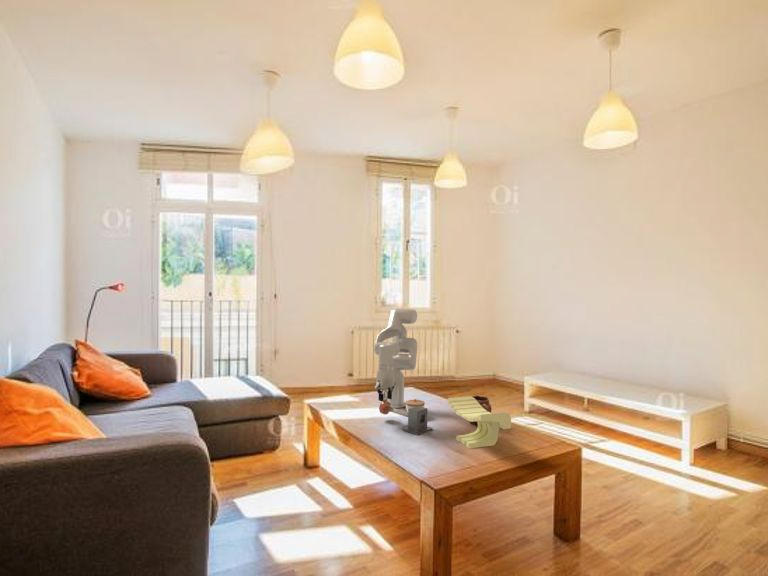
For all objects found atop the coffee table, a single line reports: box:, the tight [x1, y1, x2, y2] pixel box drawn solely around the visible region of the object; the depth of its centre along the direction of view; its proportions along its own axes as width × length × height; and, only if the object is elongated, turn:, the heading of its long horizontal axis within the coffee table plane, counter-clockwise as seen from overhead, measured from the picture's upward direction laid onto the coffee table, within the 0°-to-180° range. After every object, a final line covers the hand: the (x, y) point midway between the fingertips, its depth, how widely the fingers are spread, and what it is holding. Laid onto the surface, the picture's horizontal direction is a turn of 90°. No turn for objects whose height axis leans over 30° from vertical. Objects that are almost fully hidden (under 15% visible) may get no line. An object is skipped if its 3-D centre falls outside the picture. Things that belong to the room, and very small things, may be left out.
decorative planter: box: [468, 395, 493, 426], centre depth 242 cm, size 20×12×14 cm, turn 20°
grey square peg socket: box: [402, 406, 434, 436], centre depth 229 cm, size 10×12×11 cm
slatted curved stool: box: [447, 395, 512, 449], centre depth 214 cm, size 30×16×18 cm, turn 20°
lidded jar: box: [405, 398, 426, 412], centre depth 255 cm, size 11×11×9 cm
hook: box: [378, 389, 408, 418], centre depth 240 cm, size 20×7×13 cm, turn 44°
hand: (385, 399), depth 247 cm, fingers open, 5 cm apart
